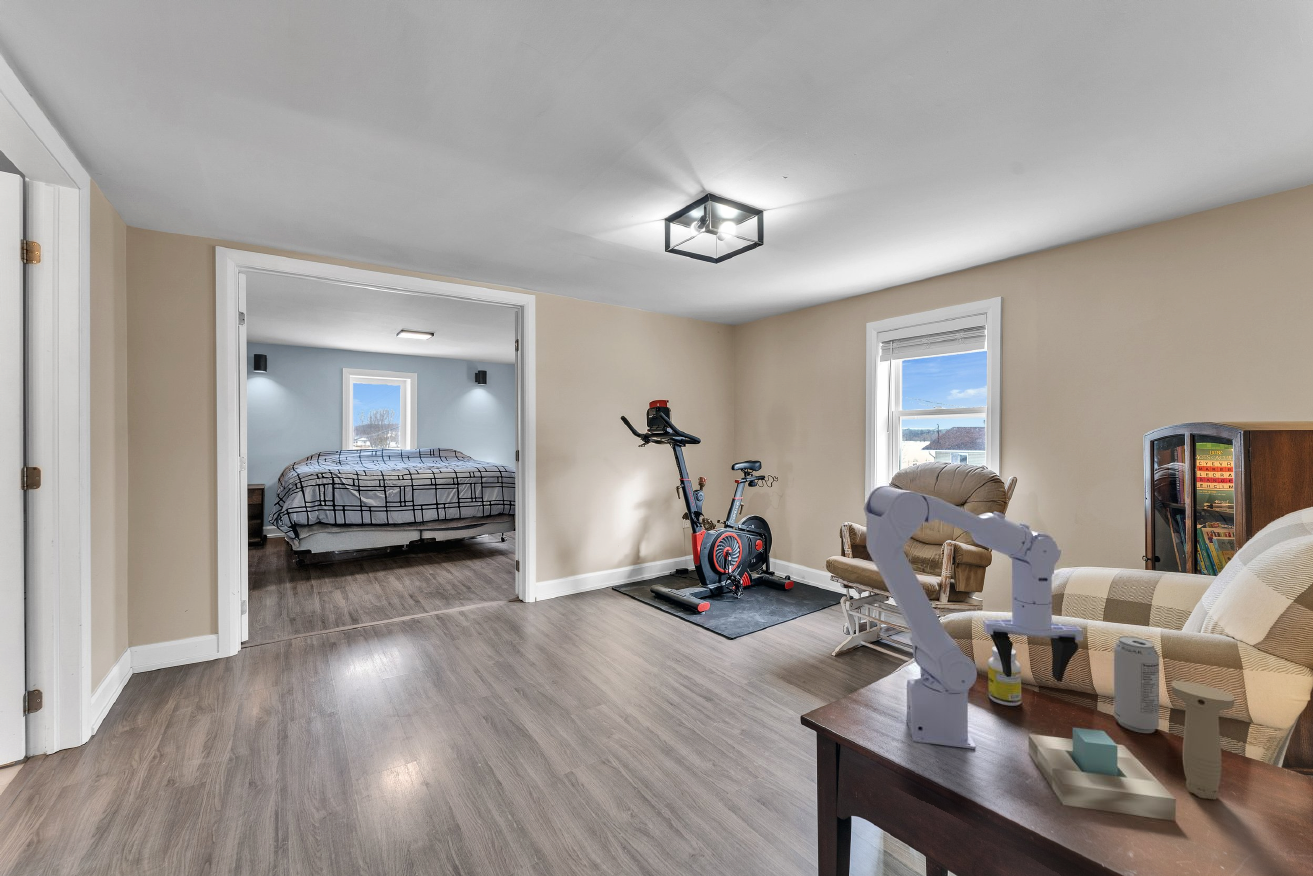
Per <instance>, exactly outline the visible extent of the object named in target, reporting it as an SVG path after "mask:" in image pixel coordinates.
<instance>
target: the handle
mask: <svg viewBox="0 0 1313 876" xmlns="http://www.w3.org/2000/svg"><path fill="white" fill-rule="evenodd" d="M1171 693H1172V695H1173V696H1175V698H1177V699H1179V700H1180V701H1182V702H1183V703H1184V705H1185V715H1184V716H1185V717H1184V718H1185V719H1184V733H1183V741H1182V742H1183V743H1182V765H1183V772H1184V775H1185V776H1184V777H1185V779H1186V781H1185V784H1186V785H1185V786H1186V789H1187V791H1188V792H1189V793H1192V794H1194V795H1196V796H1198V798H1200V799H1203V798H1204V799H1209V800H1212V799H1213V800H1212V801H1214V799H1215V800H1217V798H1218V794H1219V792H1218V790H1219V787H1220V784H1221V778H1222V768H1223V763H1222V759H1223V758H1222V748H1221V736H1220V721H1219V717H1220V716H1219V715H1220V712H1221V711H1227V710H1228V711H1229V710H1233V708H1234V707H1235V696H1234V695H1233V694H1232V693H1230V692H1227V691H1225V690H1222V689H1220V688H1215V687H1212V686H1208V685H1203V684H1200V683H1195V682H1189V681H1182V680H1175V681H1172V682H1171ZM1204 799H1203V800H1204Z"/></svg>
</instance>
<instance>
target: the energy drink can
mask: <svg viewBox="0 0 1313 876" xmlns="http://www.w3.org/2000/svg"><path fill="white" fill-rule="evenodd" d="M1117 640H1118V641H1117V642H1116V643H1115V644H1114V646H1113V716H1114V718H1115V719H1116V720H1117V723H1118V724H1119V725H1120V726H1122V727H1123V728H1125V729H1128V730H1130V731H1132V732H1136V733H1141V734H1142V733H1143V734H1152V733H1155V730H1156V729H1159V727H1160V654H1159V653H1158V651H1157V649H1156V648H1155V643H1153V642H1152V641H1150V640H1148V639H1144V638H1141V637H1137V636H1136V637H1135V636H1130V635H1129V636H1127V635H1122V636H1119V637H1118V638H1117Z"/></svg>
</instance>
